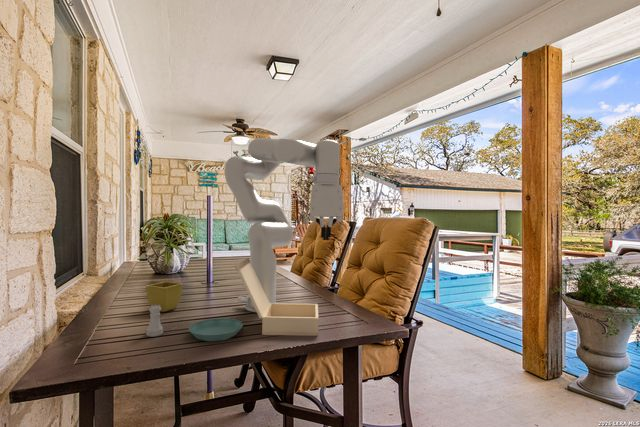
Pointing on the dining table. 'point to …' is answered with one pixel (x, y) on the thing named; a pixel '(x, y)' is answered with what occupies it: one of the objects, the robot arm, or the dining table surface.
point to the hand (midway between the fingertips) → (325, 239)
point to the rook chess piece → (154, 322)
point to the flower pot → (164, 295)
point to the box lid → (253, 286)
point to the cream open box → (290, 319)
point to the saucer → (216, 329)
